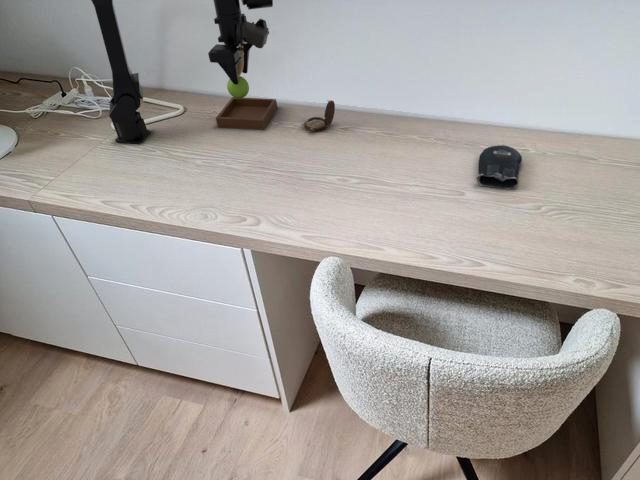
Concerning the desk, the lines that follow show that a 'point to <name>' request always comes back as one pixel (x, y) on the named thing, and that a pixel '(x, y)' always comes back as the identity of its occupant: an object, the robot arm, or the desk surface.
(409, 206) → the desk surface
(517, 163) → the black beanie hat
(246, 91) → the green and brown figure
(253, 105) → the tray
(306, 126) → the compass
